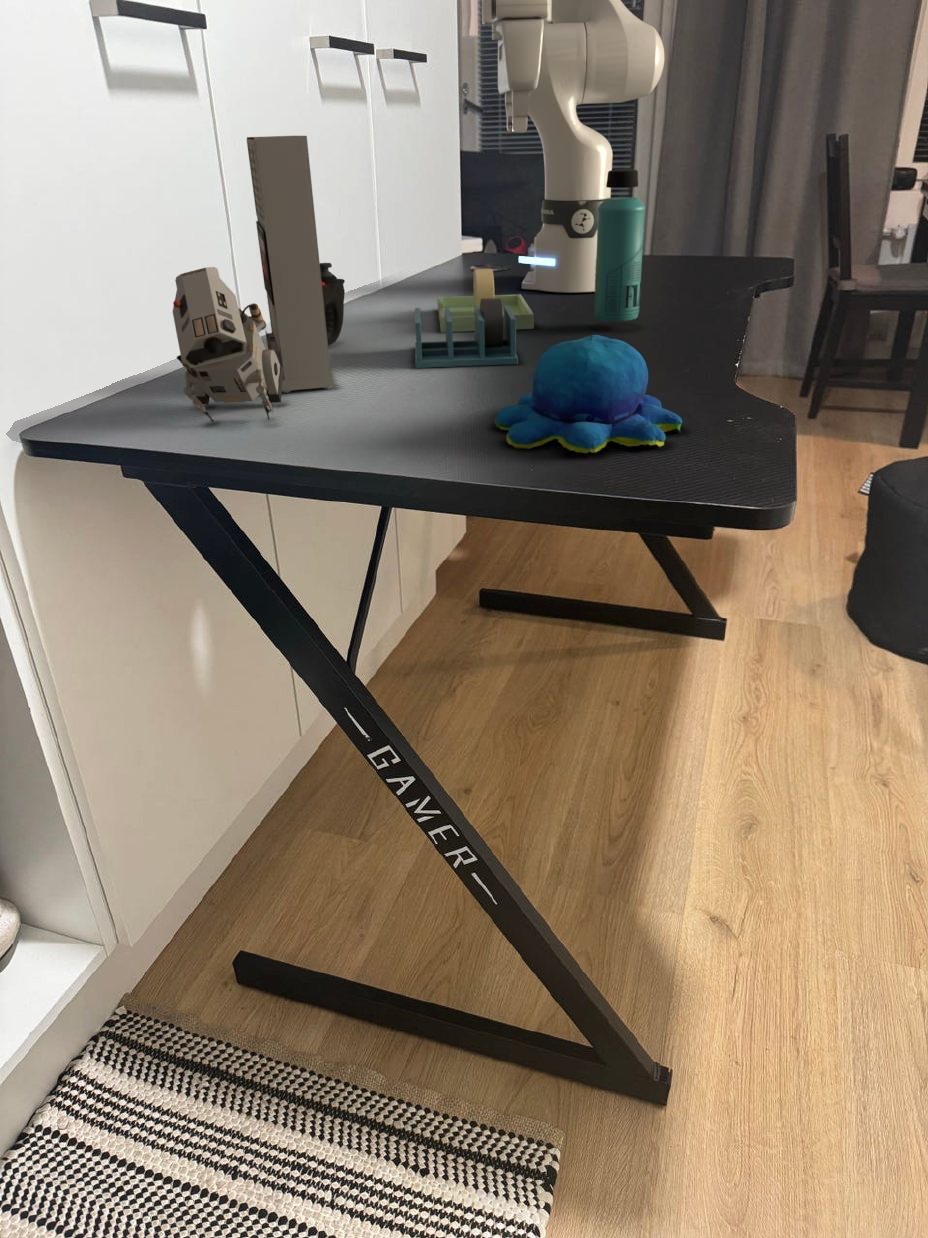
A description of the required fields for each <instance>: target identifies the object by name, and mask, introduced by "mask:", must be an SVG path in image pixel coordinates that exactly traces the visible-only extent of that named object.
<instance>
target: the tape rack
mask: <svg viewBox="0 0 928 1238" xmlns="http://www.w3.org/2000/svg"><path fill="white" fill-rule="evenodd" d="M474 324H475V331H474V339H471V340H469V339H468V340H454V332H453V331H452V318H451V313H450V308H449V307H445V331H446V332H445V340H444V341H422V328H421V327H422V324H421V308H420V307H415V308H414V327H415V329H414V330H415V343H414V344H415V345H414V346H415V347H414V348H415V355H414V356H415V369H430V368H431V369H432V368H453V367H480V366H481V367H482V366H483V367H484V366H504V365H518V364H519V357H518V355H517V329H516V319H515V317H514V315H513V313H512V311H511V309H510V307H509V306H508V305H504V330H503V346H502V347H484V319H483V316H482V314H481V311H480V308H479V306H474Z"/></svg>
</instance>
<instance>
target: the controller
mask: <svg viewBox="0 0 928 1238" xmlns="http://www.w3.org/2000/svg"><path fill="white" fill-rule="evenodd" d="M332 267H333V265H332V263H331V262H320V272H321V282H322V292H323V301H324V311H325V321H326V331H327V341H328V346H331V345H333V344H334V343H335V342H336V341H337V340H338V338H339V337H340V335H341V332H342V328H343V323H344V314H345V294H346V292H345V286H344V283H345V282H346V281H345V280H346V279H344V278H338V277H337V276H336V275H335V274H333V273H332V272H331V271H330V269H331V268H332Z"/></svg>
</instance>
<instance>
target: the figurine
mask: <svg viewBox="0 0 928 1238" xmlns="http://www.w3.org/2000/svg"><path fill="white" fill-rule="evenodd" d="M174 281H175V286H176V293H175V297H174V301H173V303H172V304H173V308H172V316H173V321H174V322H173V323H174V327H175V333H176V338H177V343H178V349H179V354H180V355H179V354H178V355H177V356H176V359H177V360H178V361H179V362H180V364H181V365H182V367H184V368H186V371H185V372H184V380H185V383H186V386H185V387H184V388H183V394H184V395H186V396H187V397H188V398H189V399H190V401H192V404H193V405H194V407H195V409H197V410H198V411H199V412H200V413H203V415H205V416H207V417H208V418H209V419H210V421H211V422H214V421H215V420H214V419H212V416H211V415H210V413H209V412H208V411H207V410H206V407H205V405H210V399H211V400H213V401H214V402H215V403H245V402H254V400H256V399H257V397H259V396H260V399H261V404H262V407H263V409H264V411H265V413H266V418H267V419H268V421H269V420H270V415H269V414H270V413H274V411H275V409H274V407H273V405H272V404H274V403H278V404H279V403H282V394H283V392H282V382H283V368H282V366H281V365H280V364H279V361H278V358H277V356H276V353H275V352H274V350H268V349H266V347H265V344H264V342H263V340H262V337H261V335H260V332H262V331H264V330H266V327H267V323H266V321H265V319H264V317H263V315H262V311H261V309H260V307H259V305H258V304H257V303H255V302H253V303H250V304H248V305H246V306H245V307H244V308H243V310H242V309H241V308H239V305H238V301H237V296H236V294H235V293H234V291H232V290H231V289H230V288H229V287H228V285H227V284H226V283H225V282H224V280H222V279H221V277H220V273H219V269H218V268H217V267H216V266H207V267H202V268H199V269H195V270H189V271H187V272H183V273H180V274H179V275H177V276H176V277H175V279H174ZM247 309H248V310H249V313H250V316H249V315H247V313H246V311H247Z"/></svg>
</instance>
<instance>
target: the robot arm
mask: <svg viewBox="0 0 928 1238" xmlns="http://www.w3.org/2000/svg"><path fill="white" fill-rule="evenodd" d="M481 24H482V25H483V26H486V27H491V40H492V41H494V42H495V41H496V42H497V89H498V90H497V91H498V93H499V95H504V107H505V115H506V131H508V132H509V133H513V132H514V133H516V134H517V133H519V134H520V133H526V132H527V131H528V130H527V129H528V116H529V119H531V121H532V123H533V124H534V126H535V128H536V130H537V132H538V136H539V139H540V142H541V146H542V152H543V163H544V164H543V165H544V199H543V200H542V203H541V208H540V209H541V212H540V213H541V222H542V226H541V229H540V230H539V232H538V233H537V234H536V236H535V237H534V238H533V243H530V246H529V247H527V256H522V255H521V256H520V255H519V256H518V263H519V264H520V263H521V264H527V265H528V264H529V269H530V271H528V272H527V273H526V275H525V276H524V278H523V280H522V282H521V287H520V289H522V290H531V291H534V290H535V291H541V292H553V293H592V292H593V293H595V289H594V288H595V278H594V277H595V276H594V275H595V274H594V271H595V272H596V270H595V269H596V254H597V228H598V207H599V206H600V204H601V203H602V202H603V201H604V200H605V199H607V198H612V197H611V195H612V188H608V187H606V184H607V178H608V172H609V171H611V170H613V156H614V155H613V149H612V146H611V143H610V142H609V140H608V139H607V138H606V137H605V136H604V135H602V134H601V133H600V132H598V131H596V130H594V129H593V128H591V127H589V126H587V125H585V124H583V123H582V122H581V121H580V119H579V117H578V113H577V106H579V105H587V104H588V105H589V104H620V103H626V102H629V101H633V100H637V99H640V98H644V97H648V96H649V95H650V94H651V93H652V92H653V91H654V89H656V87H657V86H658V83H659V81H660V79H661V77H662V74H663V71H664V67H665V47H664V43H663V40H662V38H661V35H660V34H659V32H658V31H657V29H656V28H655V27H654V26H653V25H651V24H649V23H646V22H645V21H643V20H641V19H640V18H638V17H637V16H636V15H635V14H634V13H632V12H631V11H630V9H628V8H627V7H626V5H625V4H624V3H623V1H622V0H481Z"/></svg>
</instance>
